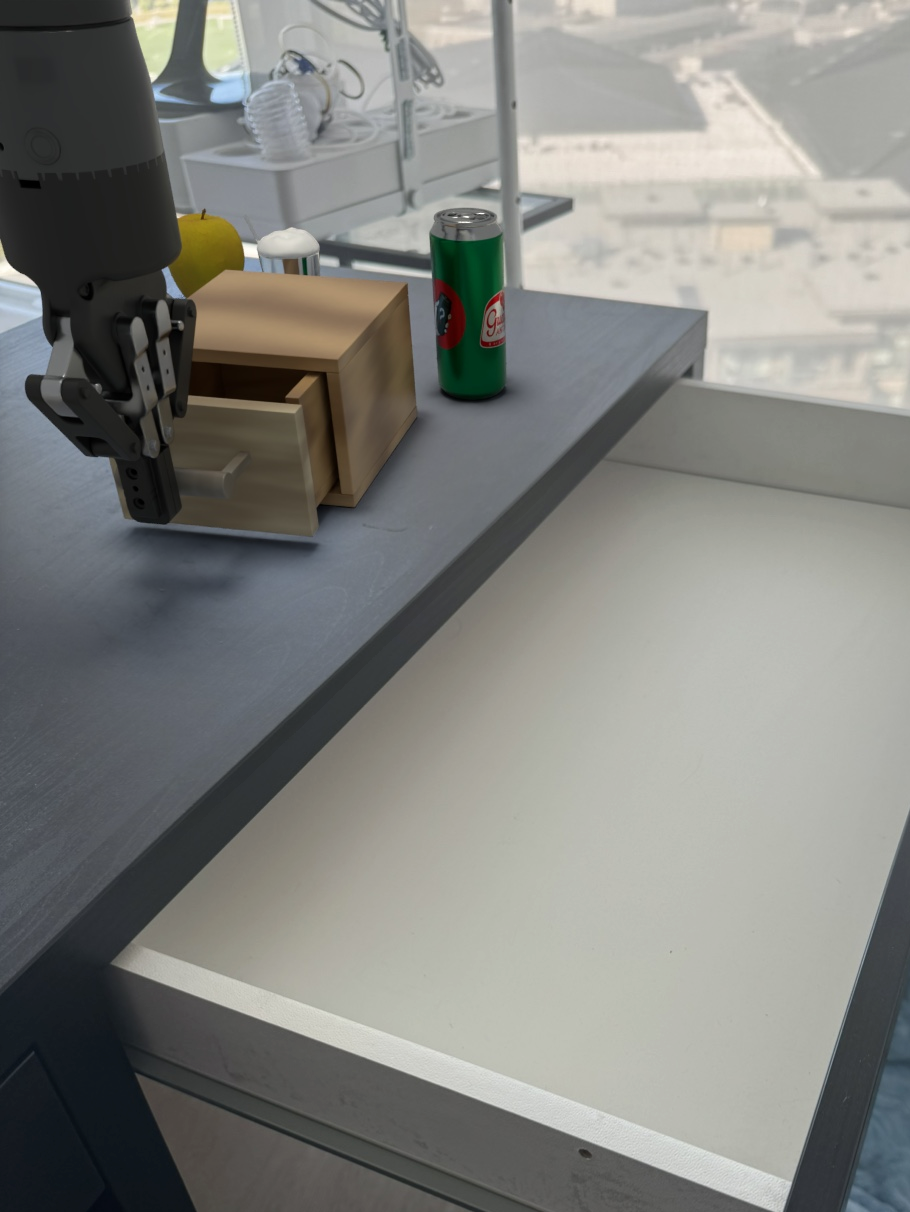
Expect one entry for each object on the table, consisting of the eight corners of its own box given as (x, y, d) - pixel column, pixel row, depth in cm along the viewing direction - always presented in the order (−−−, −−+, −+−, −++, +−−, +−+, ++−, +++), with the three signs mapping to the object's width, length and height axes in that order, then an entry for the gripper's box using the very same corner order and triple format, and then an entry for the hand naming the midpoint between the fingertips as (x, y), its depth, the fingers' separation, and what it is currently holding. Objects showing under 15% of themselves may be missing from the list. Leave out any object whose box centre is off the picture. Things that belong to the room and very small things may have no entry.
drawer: (286, 573, 63) (265, 445, 59) (88, 554, 65) (52, 427, 60) (380, 442, 77) (369, 329, 72) (215, 428, 78) (194, 316, 73)
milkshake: (277, 342, 93) (257, 207, 87) (340, 349, 93) (325, 213, 86) (253, 362, 90) (231, 223, 84) (319, 369, 89) (301, 228, 83)
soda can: (498, 405, 85) (492, 227, 77) (430, 399, 85) (418, 222, 78) (513, 380, 88) (510, 208, 81) (449, 374, 89) (439, 203, 81)
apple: (232, 321, 97) (215, 217, 92) (162, 313, 98) (141, 211, 93) (265, 297, 102) (250, 198, 97) (197, 291, 103) (179, 192, 98)
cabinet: (354, 507, 72) (337, 359, 66) (160, 489, 73) (126, 342, 67) (417, 416, 83) (407, 282, 77) (247, 401, 84) (225, 269, 78)
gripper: (66, 111, 55) (146, 459, 66) (-106, 174, 45) (22, 572, 56) (217, 120, 54) (273, 471, 65) (77, 186, 44) (171, 588, 55)
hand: (157, 517), depth 61 cm, fingers closed
